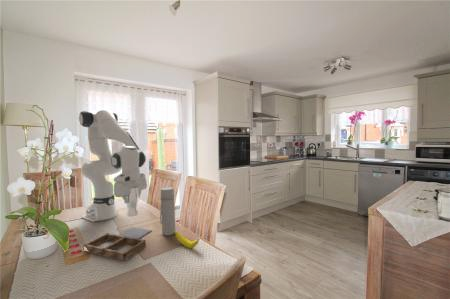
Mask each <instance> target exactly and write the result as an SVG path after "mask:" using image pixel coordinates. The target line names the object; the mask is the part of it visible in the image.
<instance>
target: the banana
mask: <svg viewBox="0 0 450 299" xmlns="http://www.w3.org/2000/svg"><path fill="white" fill-rule="evenodd" d="M174 234H175V236H176V239H177V240H178V241H179V243H181V244H182V245H183V246H185V248H188V249H193V248H195V247H196V246H197V245H198V244H199V240H200V239H196V240H194V241H192V240H189V239H188V238H186V237H185V236H183V235H182V234H181V233H179V232H178V231H176V230H175V233H174Z"/></svg>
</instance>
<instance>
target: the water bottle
mask: <svg viewBox="0 0 450 299" xmlns="http://www.w3.org/2000/svg"><path fill="white" fill-rule="evenodd" d="M159 200H160V215H159V216H160V217H159V221H160V224H161V230H162V231H161V232H162V233H161V234H162V235H163V236H166V237H167V236H171V235H174V234H175V231H176V213H175V210H176V209H175V192H174V187H173V186H172V187H171V186H167V187H162V188H161V189H160V197H159Z"/></svg>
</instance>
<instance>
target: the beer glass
mask: <svg viewBox="0 0 450 299" xmlns="http://www.w3.org/2000/svg"><path fill="white" fill-rule="evenodd" d="M127 199H128V200H129V203H125V204H126V209H127V212H126V217H135V216H136V217H137V216H138V215H139V214H140V213H139V200H140V199H139V188H138V187H137V188H131V193H130V194H129V195H127Z"/></svg>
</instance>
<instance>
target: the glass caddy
mask: <svg viewBox="0 0 450 299" xmlns="http://www.w3.org/2000/svg"><path fill="white" fill-rule="evenodd" d="M106 241H111V242H113V243H111V244H109V245H107V246H106V247H100V246H98V245H101V244H102V243H105V242H106ZM146 242H147V241H146V239H143V238H140V239H137V238H131V237H126V236H120V235H118V234H115V233H108V232H107V233H104V234H103V235H101V236H99V237H97V238H95V239H93V240H91V241H88V242H87V243H85V244H83V247H84V246H85V247H86V248H87V250H88V251H89V252H88V253H90V254H95V255H98V256H102V257H103V256H104V257H107V258H111V259H115V260H120V261H124V262H125V261H128V259H131V257H132V256H134V255H136V253H137V254H138V252H139V251H141V250H143V249H144V248H145V247H146V246H147V245H146V244H147V243H146ZM125 244H128V245H133V246H132V247H131V248H129V249H128V250H126V251H119V250H117V249H118V248H120V247H122V246H123V245H125Z"/></svg>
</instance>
